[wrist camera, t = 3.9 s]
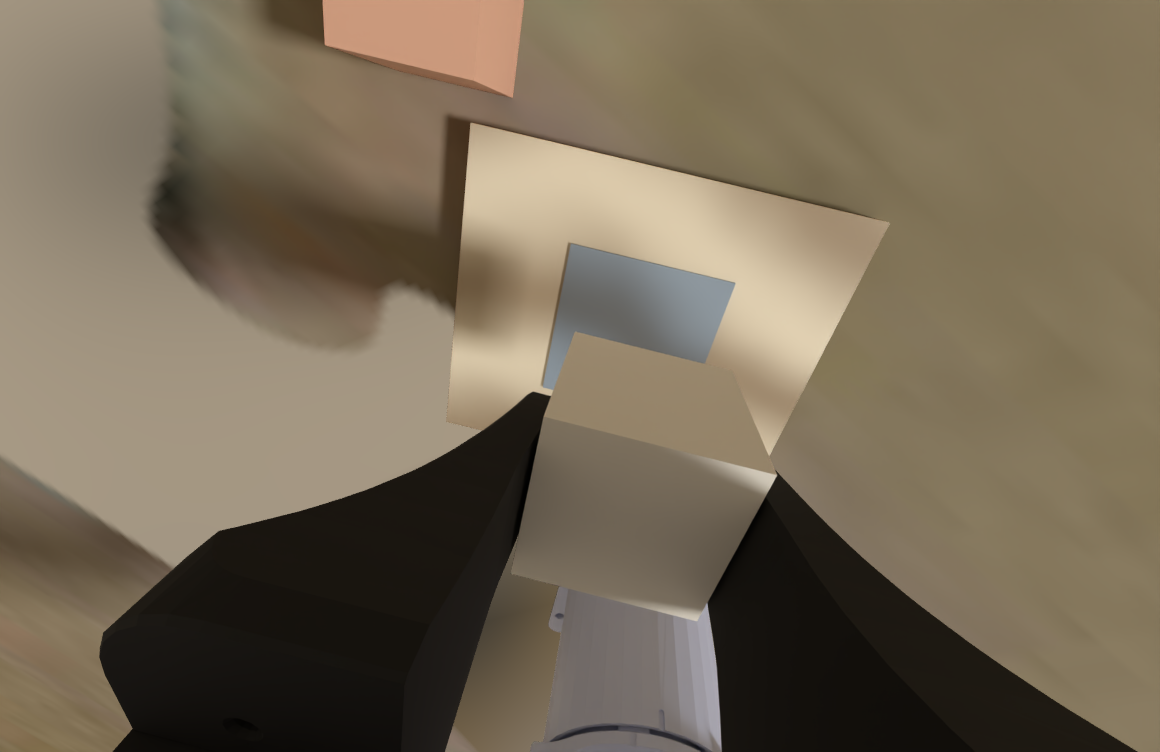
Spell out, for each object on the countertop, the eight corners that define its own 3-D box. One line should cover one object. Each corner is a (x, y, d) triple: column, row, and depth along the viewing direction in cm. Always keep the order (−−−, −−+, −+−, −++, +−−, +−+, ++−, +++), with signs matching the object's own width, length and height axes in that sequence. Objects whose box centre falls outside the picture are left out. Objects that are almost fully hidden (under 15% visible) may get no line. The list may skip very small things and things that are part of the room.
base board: (743, 481, 21) (748, 498, 20) (454, 410, 21) (445, 422, 20) (875, 218, 15) (891, 223, 14) (480, 124, 15) (469, 122, 14)
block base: (680, 491, 13) (697, 621, 9) (546, 457, 13) (510, 573, 9) (732, 370, 11) (777, 474, 7) (575, 331, 11) (543, 416, 7)
